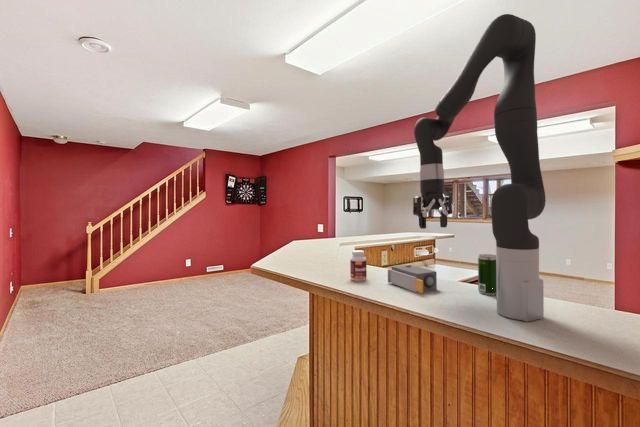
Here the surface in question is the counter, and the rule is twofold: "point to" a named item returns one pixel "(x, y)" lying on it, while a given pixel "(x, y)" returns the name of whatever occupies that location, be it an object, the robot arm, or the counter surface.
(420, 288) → the grey orange flat panel
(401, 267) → the camera body
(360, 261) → the pill bottle
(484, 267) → the beer can
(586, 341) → the counter surface
